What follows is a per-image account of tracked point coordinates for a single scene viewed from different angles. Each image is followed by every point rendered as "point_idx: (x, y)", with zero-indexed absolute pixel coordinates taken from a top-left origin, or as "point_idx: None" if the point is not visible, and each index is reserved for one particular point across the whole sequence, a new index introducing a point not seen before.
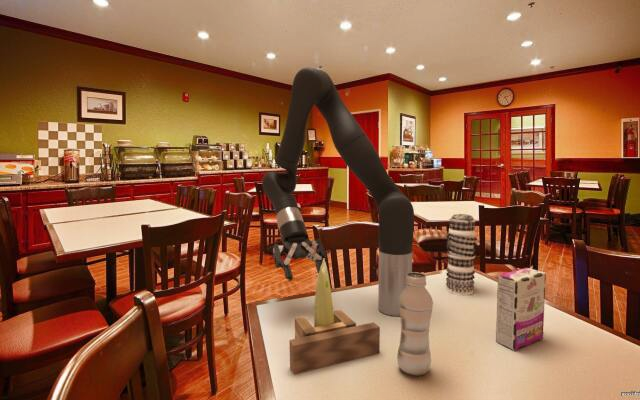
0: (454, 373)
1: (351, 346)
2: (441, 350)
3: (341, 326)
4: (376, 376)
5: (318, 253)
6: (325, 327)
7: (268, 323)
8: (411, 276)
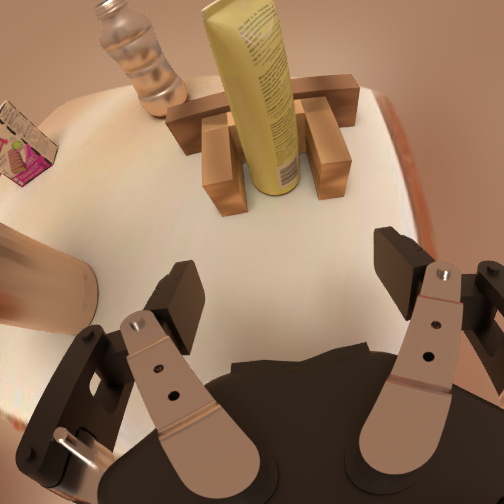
0: (134, 105)
1: None
2: (108, 146)
3: None
4: None
5: (116, 420)
6: None
7: None
8: (104, 9)
